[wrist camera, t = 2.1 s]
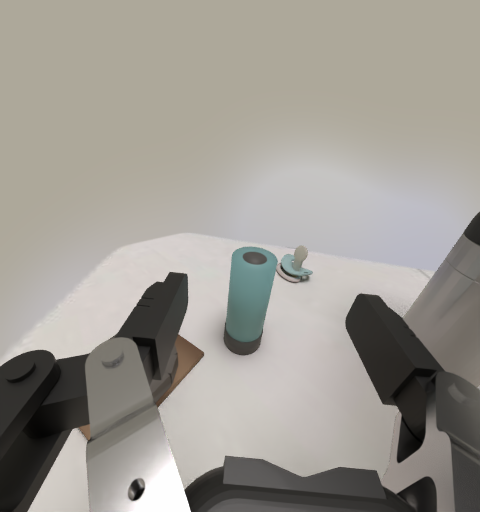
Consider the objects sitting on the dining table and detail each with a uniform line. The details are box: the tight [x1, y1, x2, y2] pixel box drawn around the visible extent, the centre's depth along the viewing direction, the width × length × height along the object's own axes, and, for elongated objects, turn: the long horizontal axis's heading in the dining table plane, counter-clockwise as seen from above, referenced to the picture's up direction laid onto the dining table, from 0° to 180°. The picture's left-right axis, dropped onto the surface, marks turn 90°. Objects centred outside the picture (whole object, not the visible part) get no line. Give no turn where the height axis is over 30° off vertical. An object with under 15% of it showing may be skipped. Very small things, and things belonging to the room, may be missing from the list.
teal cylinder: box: [224, 247, 278, 355], centre depth 26 cm, size 5×5×13 cm
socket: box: [79, 334, 204, 441], centre depth 23 cm, size 12×9×3 cm
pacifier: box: [276, 246, 313, 282], centre depth 42 cm, size 7×6×6 cm
